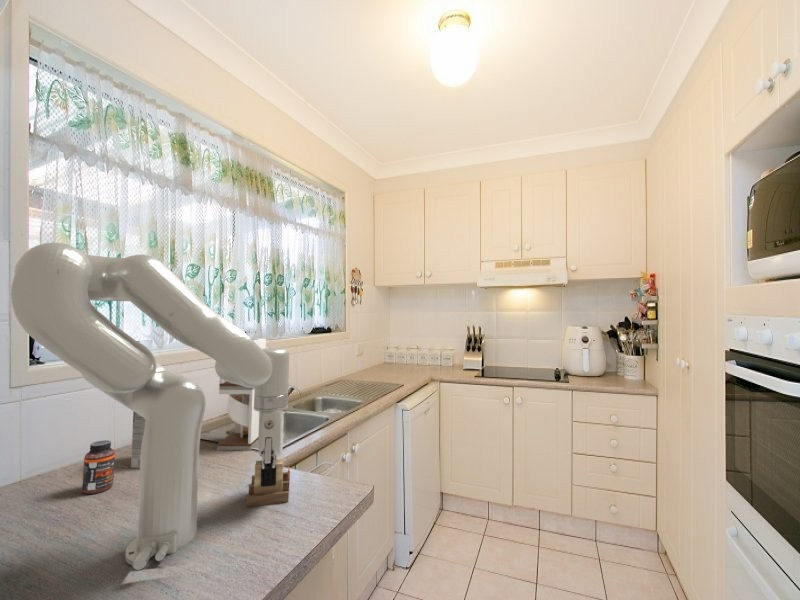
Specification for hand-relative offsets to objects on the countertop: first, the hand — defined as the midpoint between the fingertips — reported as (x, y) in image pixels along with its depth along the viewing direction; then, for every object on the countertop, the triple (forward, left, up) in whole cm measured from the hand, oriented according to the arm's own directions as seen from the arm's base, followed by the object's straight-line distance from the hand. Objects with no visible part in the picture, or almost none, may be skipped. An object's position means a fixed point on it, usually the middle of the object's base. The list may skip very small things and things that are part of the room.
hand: (268, 481), depth 84 cm
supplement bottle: (+17, +41, -5) cm, 45 cm away
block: (0, 0, -4) cm, 4 cm away
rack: (+3, 0, -5) cm, 6 cm away
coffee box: (+33, +35, -5) cm, 49 cm away
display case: (+43, +12, -5) cm, 45 cm away
